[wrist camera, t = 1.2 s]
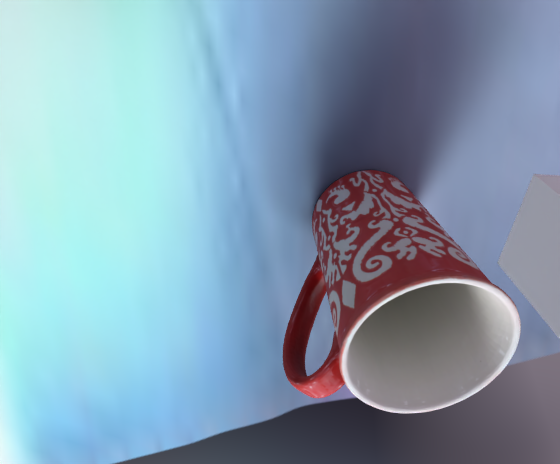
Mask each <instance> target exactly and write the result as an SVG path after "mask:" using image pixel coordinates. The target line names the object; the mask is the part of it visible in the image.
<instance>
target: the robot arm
mask: <svg viewBox="0 0 560 464" xmlns="http://www.w3.org/2000/svg"><path fill="white" fill-rule="evenodd" d="M498 264H499V266H500V267H501V268H502V269H503V271H504V272H505V273H506V274H507V275H508V277H509V278H510V279H511V280H512V282H513V283H514V284H515V285H516V286H517V288H518V289H519V290H520V291H521V293H522V294H523V295H524V296H525V297H526V299H527V300H528V301H529V302H530V303H531V305H532V306H533V307H534V308H535V310H536V311H537V312H538V313H539V314H540V316H541V317H542V318H543V319H544V321H545V322H546V323H547V324H548V325H549V327H550V328H551V329H552V330H553V332H554V333H555V334H556V335H557V336H558V338H559V339H560V176H558V175H539V174H534V175H533V177H532V180H531V182H530V184H529V187H528V189H527V192H526V194H525V197H524V199H523V202H522V204H521V207H520V209H519V211H518V214H517V216H516V219H515V221H514V224H513V226H512V229H511V231H510V234H509V236H508V238H507V241H506V243H505V246H504V248H503V251H502V253H501V256H500V258H499V260H498Z"/></svg>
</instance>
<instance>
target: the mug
mask: <svg viewBox="0 0 560 464" xmlns="http://www.w3.org/2000/svg"><path fill="white" fill-rule="evenodd" d="M312 229H313V235H314V239H315V243H316V246H317V251H318V255H317V258H316V261H315V262H314V265H313V267H312V269H311V271H310V273H309V275H308V276H307V278H306V280H305V283H304V285H303V287H302V289H301V292H300V294H299V296H298V299H297V301H296V304H295V306H294V309H293V312H292V314H291V317H290V320H289V323H288V326H287V330H286V334H285V339H284V345H283V366H284V370H285V373H286V376H287V378H288V380H289V382H290V383H291V384H292V385H293V386H294V387H295V388H296V389H298V390H299V391H301V392H302V393H304V394H306V395H308V396H310V397H313V398H323V397H326V396H329V395H331V394H333V393H334V392H336V391H337V390H339V389H340V388H341V387H342V386H343V385H344V384H346V386H347V387H348V389H349V390H350V391H351V392H352V393H353V395H355V396H356V397H357V398H359V399H360V400H362V401H363V402H364V403H366V404H369V405H370V406H373V407H375V408H378V409H381V410H385V411H389V412H395V413H420V412H427V411H432V410H437V409H440V408H444V407H447V406H450V405H452V404H455V403H457V402H459V401H462V400H464V399H466V398H468V397H469V396H471V395H473V394H475V393H476V392H478V391H479V390H480V389H482V388H484V387H485V386H486V385H487V384H489V383H490V382H491V381H492V380H493V379H494V378H496V377H497V375H499V374H500V373H501V372H502V370H503V369H504V368H505V367H506V365H507V364H508V363H509V361H510V359H511V358H512V356H513V354H514V353H515V350H516V348H517V345H518V342H519V338H520V331H521V324H520V317H519V314H518V311H517V308H516V306H515V304H514V302H513V301H512V300H511V298H510V297H509V296H508V295H507V294H506V293H505V292H504V291H503V290H502V289H500V288H499V287H498V286H496V285H494V284H492V283H491V282H490V281H489V280H488V278H487V277H486V276H485V275H484V274H483V273H482V272H481V271H480V269H479V268H478V267H477V266H476V264H475V263H474V262H473V261H472V260H471V259H470V258H469V257H468V255H467V254H466V253H465V252H464V251H463V250H462V249H461V248H460V246H459V245H458V244H456V242H455V241H454V240H453V239H452V238H451V237H450V236H449V235H448V233H447V232H446V231H445V230H444V229H443V228H442V227H441V226H440V224H439V223H438V222H437V221H436V220H435V219H434V217H433V216H432V215H431V214H430V213H429V212H428V211H427V209H425V207H424V206H423V205H422V204H421V203H420V202H419V201H418V199H417V198H416V197H415V196H414V195H413V194H412V192H411V191H410V190H409V189H408V188H407V187H406V186H405V185H404V184H403V183H402V182H401V181H400V180H399V179H398V178H396V177H395V176H393V175H391V174H389V173H386V172H382V171H377V170H364V171H358V172H354V173H351V174H348V175H346V176H344V177H342V178H340V179H339V180H337V181H335V182H334V183H333V184H331V185H330V186H329V187H328V188H327V189H326V190H325V191H324V192H323V194H322V195H321V197H320V198H319V200H318V202H317V204H316V206H315V209H314V212H313V216H312ZM326 291H327V295H328V300H329V304H330V308H331V314H332V318H333V323H334V327H335V332H334V337H333V344H332V348H331V351H330V353H329V355H328V357H327V359H326V361H325V362H324V364H323V365H322V366H321V367H320V368H319V369H318V370H317V371H316V372H315V373H313V374H312V375H310V376H307V375H306V370H305V353H306V347H307V344H308V340H309V336H310V332H311V329H312V327H313V324H314V320H315V317H316V315H317V312H318V310H319V307H320V304H321V302H322V300H323V298H324V295H325V293H326Z"/></svg>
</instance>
